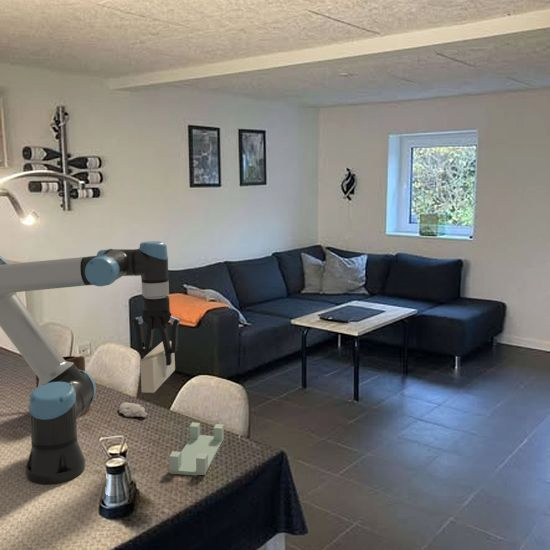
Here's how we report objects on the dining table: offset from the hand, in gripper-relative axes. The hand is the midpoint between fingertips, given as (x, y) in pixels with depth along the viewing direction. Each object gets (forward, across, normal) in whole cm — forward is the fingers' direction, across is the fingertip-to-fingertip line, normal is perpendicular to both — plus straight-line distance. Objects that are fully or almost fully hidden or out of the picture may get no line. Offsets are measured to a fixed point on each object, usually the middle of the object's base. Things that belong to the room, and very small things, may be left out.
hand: (159, 375), depth 172 cm
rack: (+23, -11, +2) cm, 26 cm away
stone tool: (+23, +19, -26) cm, 40 cm away
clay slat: (+1, 0, 0) cm, 1 cm away
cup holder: (+22, +46, -26) cm, 57 cm away
